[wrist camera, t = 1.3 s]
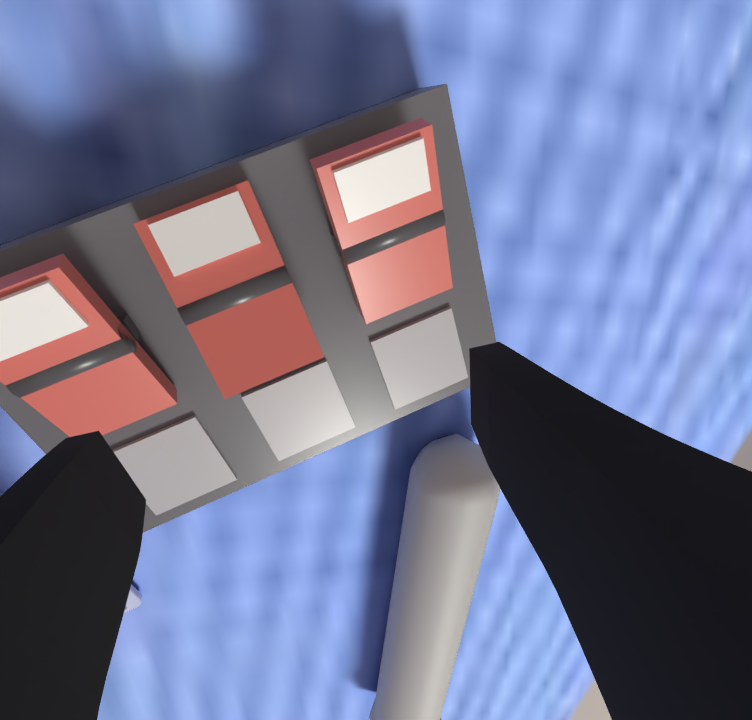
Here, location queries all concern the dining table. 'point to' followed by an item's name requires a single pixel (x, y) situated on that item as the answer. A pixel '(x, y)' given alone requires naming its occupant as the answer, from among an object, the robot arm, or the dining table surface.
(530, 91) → the dining table surface
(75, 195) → the dining table surface
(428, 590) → the tube
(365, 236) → the rocker
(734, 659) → the robot arm
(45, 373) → the rocker
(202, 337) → the rocker
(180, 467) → the switch panel
